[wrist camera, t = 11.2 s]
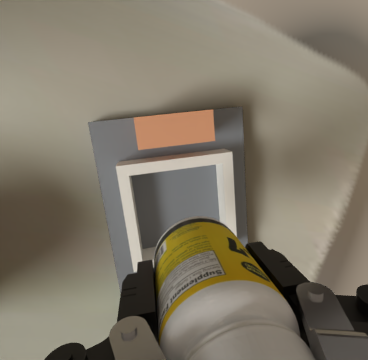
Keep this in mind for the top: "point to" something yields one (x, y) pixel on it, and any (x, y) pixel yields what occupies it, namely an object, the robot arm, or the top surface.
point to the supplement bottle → (219, 299)
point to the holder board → (168, 177)
